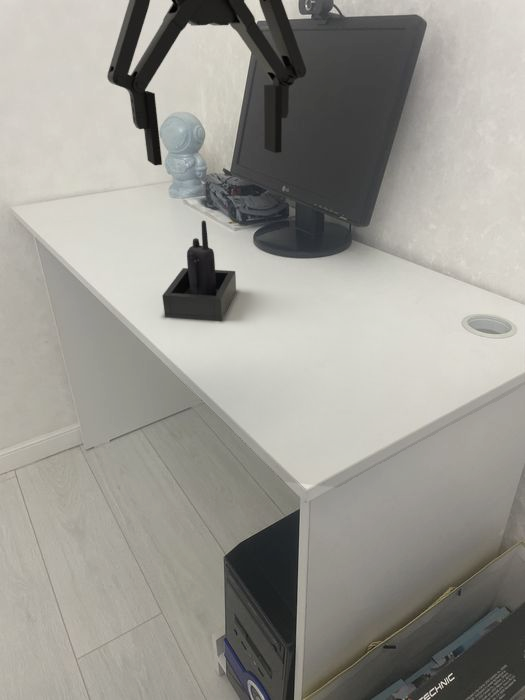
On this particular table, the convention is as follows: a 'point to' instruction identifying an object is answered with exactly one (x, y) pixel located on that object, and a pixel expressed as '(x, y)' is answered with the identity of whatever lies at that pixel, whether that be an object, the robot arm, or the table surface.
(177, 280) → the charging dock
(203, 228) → the two-way radio
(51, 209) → the table surface
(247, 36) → the robot arm
